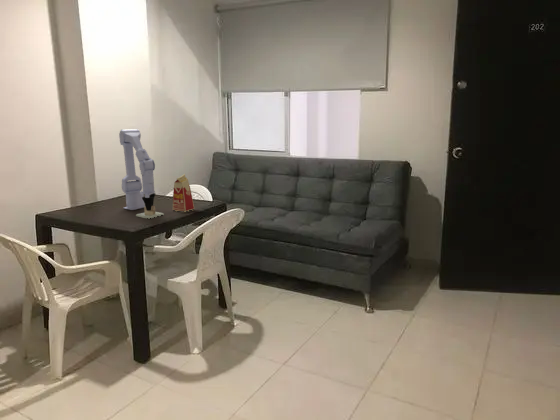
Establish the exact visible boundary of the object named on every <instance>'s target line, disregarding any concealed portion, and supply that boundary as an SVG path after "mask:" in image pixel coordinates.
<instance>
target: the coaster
mask: <svg viewBox="0 0 560 420" xmlns="http://www.w3.org/2000/svg"><path fill="white" fill-rule="evenodd" d="M161 215H163V216H165V213H164V212H159V211H155V214H153V215H145V211H144V212H141V213H137V214H135V217H138V218H143V219H147V218H148V219H149V220H151V219H155V218H158V217H157V216H159V217H161ZM154 217H155V218H154ZM150 218H151V219H150Z"/></svg>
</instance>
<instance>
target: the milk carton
mask: <svg viewBox="0 0 560 420" xmlns="http://www.w3.org/2000/svg"><path fill="white" fill-rule="evenodd" d="M172 192H173V194H172V211H173V210H175V211H174V212H177V211H184V212H183V213H187V212H186V211H188V212H190V211H189V210H192V209H195V205H194V199H193V194H192V190H191V186H190V182H189V179H188V178H187V177H186V173H184V174H182V175H181V176H179V177H177V178H176V181H174V183H173V191H172ZM192 211H193V210H192Z"/></svg>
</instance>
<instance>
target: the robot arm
mask: <svg viewBox="0 0 560 420" xmlns="http://www.w3.org/2000/svg"><path fill="white" fill-rule="evenodd" d="M118 134H119V135H118V138H119V143H120V146H122V147H123V153H124V155H123V156H124V162H125V163H124V164H125V172H126V175H125V176H124V177H123V178H122V179H121V190H122V192H123V193H124V194H125V202H126V206H125V207H124V206H123V209H125V210H129V211H134V210H138V209H144V207H145V206H146V210H147V211H150V210H151V207H152V206H154V201H155V196H156V195H157V193H156V191H155V178H154V177H155V176H154V171H155V169H156V164H155V160H154V159H152V158H151V157H150V156H149V153H148V151H147V150H146V149H145V148H143V145H142V142H141V136H142V135H141V131H140V130H139V128H135V129H134V128H133V129H130V128H129V129H120V130H119V133H118ZM134 150H135V151H136V152H135V156H134ZM135 157H136V158H137V161H138V162H139V170H140V175H141V178H140V177H139V176H138V175H137V174H136V165H135Z"/></svg>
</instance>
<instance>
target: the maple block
mask: <svg viewBox="0 0 560 420" xmlns="http://www.w3.org/2000/svg"><path fill="white" fill-rule="evenodd" d="M143 209H144V212H145V215H153V214H155V212H156V206H155V205H153V206H152V207H151V210H150V211H147V210H146V206H145V207H144V208H143Z"/></svg>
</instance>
